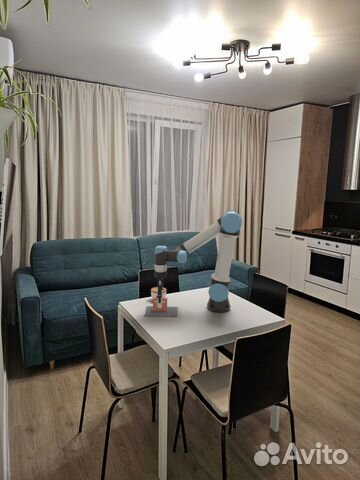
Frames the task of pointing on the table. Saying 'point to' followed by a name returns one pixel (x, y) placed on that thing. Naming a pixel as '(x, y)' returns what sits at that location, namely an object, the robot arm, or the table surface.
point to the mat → (161, 312)
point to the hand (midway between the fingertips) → (160, 303)
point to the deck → (164, 304)
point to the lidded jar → (155, 292)
